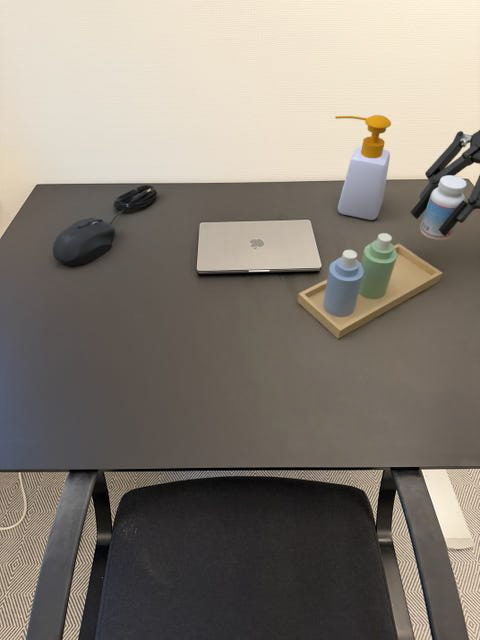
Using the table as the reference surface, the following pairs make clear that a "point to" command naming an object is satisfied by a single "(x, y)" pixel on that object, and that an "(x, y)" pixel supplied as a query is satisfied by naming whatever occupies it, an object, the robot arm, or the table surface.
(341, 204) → the soap bottle
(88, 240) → the computer mouse
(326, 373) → the table surface
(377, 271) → the green bottle
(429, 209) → the pill bottle
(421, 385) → the table surface
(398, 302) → the tray
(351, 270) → the blue-grey bottle
